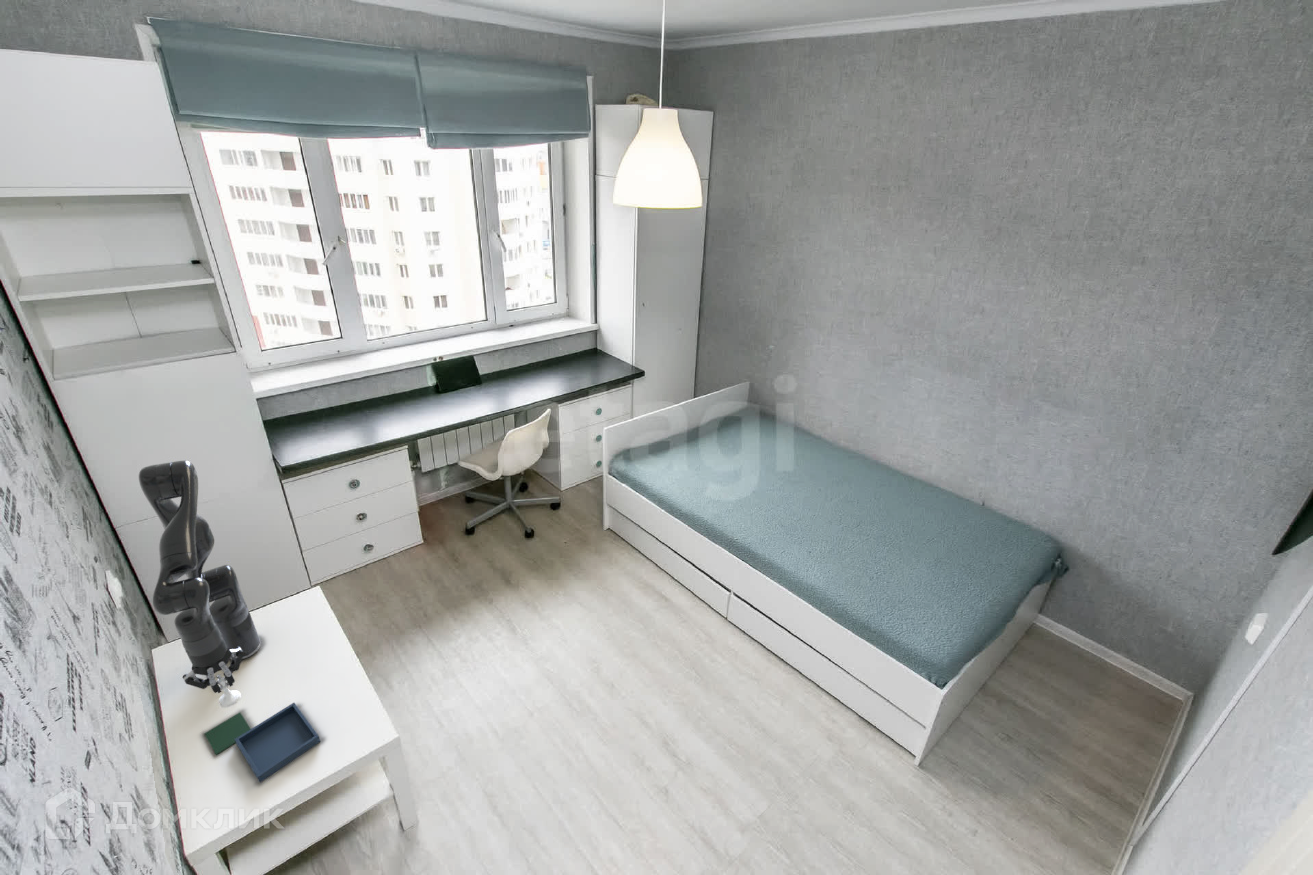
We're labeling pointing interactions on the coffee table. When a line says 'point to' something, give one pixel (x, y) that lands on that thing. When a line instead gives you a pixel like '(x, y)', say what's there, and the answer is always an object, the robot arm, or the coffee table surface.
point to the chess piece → (227, 693)
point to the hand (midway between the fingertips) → (224, 687)
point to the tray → (277, 741)
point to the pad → (226, 733)
